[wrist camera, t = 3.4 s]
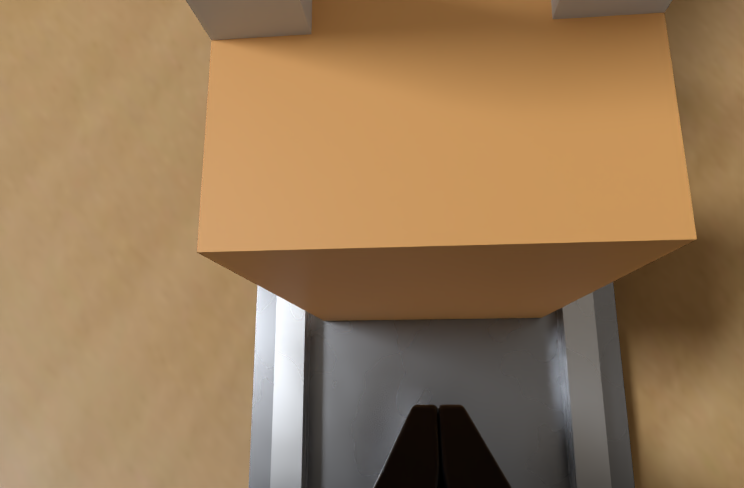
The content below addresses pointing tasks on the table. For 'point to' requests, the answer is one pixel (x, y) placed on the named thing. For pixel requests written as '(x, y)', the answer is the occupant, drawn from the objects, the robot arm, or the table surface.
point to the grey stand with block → (439, 393)
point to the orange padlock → (440, 152)
